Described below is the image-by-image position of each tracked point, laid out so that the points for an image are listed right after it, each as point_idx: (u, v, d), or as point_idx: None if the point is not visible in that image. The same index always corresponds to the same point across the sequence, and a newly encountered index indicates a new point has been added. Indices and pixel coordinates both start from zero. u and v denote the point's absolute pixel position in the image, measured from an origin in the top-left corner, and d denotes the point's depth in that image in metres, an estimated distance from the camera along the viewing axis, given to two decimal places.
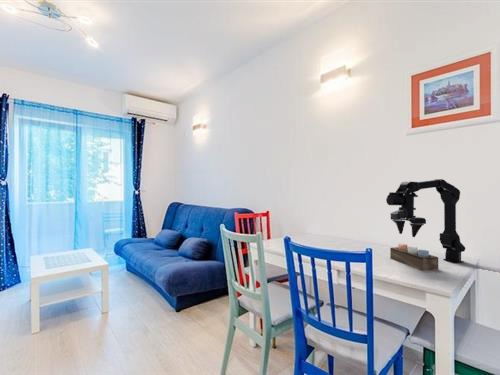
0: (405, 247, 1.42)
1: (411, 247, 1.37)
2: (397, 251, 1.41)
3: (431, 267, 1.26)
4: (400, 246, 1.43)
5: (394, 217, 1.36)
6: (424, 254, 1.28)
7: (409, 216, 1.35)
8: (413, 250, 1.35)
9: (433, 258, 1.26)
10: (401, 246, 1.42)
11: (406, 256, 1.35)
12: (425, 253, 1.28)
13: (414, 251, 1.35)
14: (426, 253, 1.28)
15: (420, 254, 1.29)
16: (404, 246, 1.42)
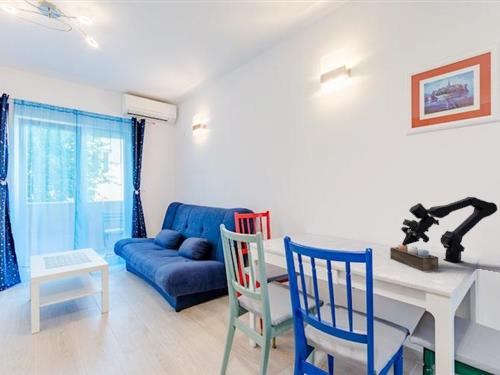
0: (405, 248, 1.42)
1: (411, 247, 1.37)
2: (397, 251, 1.41)
3: (431, 267, 1.26)
4: (400, 247, 1.43)
5: (405, 222, 1.43)
6: (424, 254, 1.28)
7: (418, 231, 1.41)
8: (413, 250, 1.35)
9: (433, 258, 1.26)
10: (401, 247, 1.42)
11: (406, 256, 1.35)
12: (425, 253, 1.28)
13: (414, 251, 1.35)
14: (426, 253, 1.28)
15: (420, 254, 1.29)
16: (404, 247, 1.42)
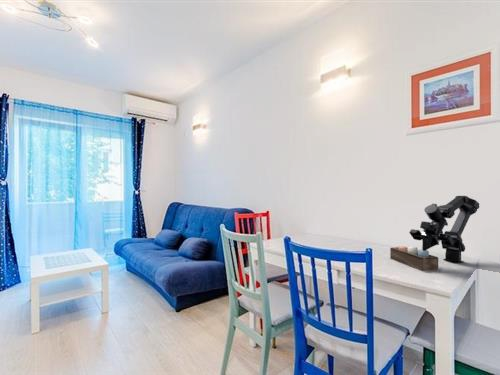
0: None
1: (411, 247, 1.37)
2: (397, 251, 1.41)
3: (431, 267, 1.26)
4: (400, 248, 1.43)
5: (426, 225, 1.30)
6: (424, 254, 1.28)
7: (437, 234, 1.30)
8: (413, 250, 1.35)
9: (433, 258, 1.26)
10: (401, 249, 1.42)
11: (406, 256, 1.35)
12: (425, 253, 1.28)
13: (414, 251, 1.35)
14: (426, 253, 1.28)
15: (420, 254, 1.29)
16: (404, 249, 1.42)
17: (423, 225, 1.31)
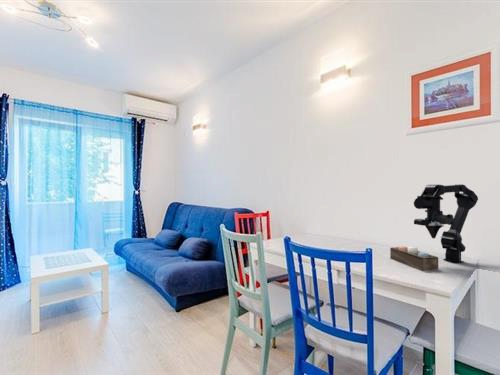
0: None
1: (411, 247, 1.37)
2: (397, 251, 1.41)
3: (431, 267, 1.26)
4: (400, 248, 1.43)
5: (448, 222, 1.30)
6: None
7: None
8: (413, 250, 1.35)
9: (433, 258, 1.26)
10: (401, 249, 1.42)
11: (406, 256, 1.35)
12: (425, 256, 1.28)
13: (414, 251, 1.35)
14: (426, 256, 1.28)
15: None
16: (404, 249, 1.42)
17: (446, 222, 1.30)
